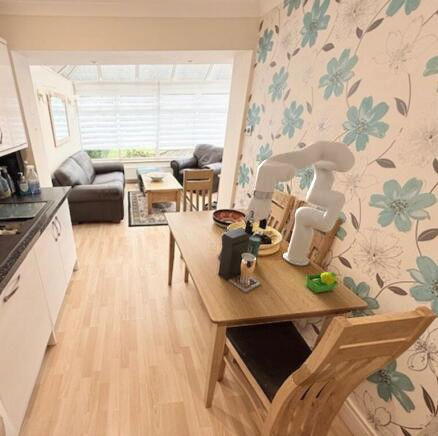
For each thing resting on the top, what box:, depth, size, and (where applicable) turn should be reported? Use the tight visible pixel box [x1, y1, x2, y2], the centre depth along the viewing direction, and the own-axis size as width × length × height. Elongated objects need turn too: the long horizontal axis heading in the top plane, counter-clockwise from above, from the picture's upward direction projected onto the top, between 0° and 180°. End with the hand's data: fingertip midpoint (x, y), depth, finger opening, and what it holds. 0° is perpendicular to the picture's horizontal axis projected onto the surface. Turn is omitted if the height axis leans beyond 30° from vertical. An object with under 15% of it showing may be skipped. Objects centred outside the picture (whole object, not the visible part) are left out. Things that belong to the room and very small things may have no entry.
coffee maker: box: [217, 227, 261, 293], centre depth 115 cm, size 12×17×24 cm
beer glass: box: [236, 253, 257, 287], centre depth 114 cm, size 7×7×15 cm
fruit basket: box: [305, 271, 339, 294], centre depth 111 cm, size 11×9×11 cm
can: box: [247, 235, 262, 265], centre depth 131 cm, size 6×6×15 cm
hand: (255, 230), depth 106 cm, fingers open, 9 cm apart
